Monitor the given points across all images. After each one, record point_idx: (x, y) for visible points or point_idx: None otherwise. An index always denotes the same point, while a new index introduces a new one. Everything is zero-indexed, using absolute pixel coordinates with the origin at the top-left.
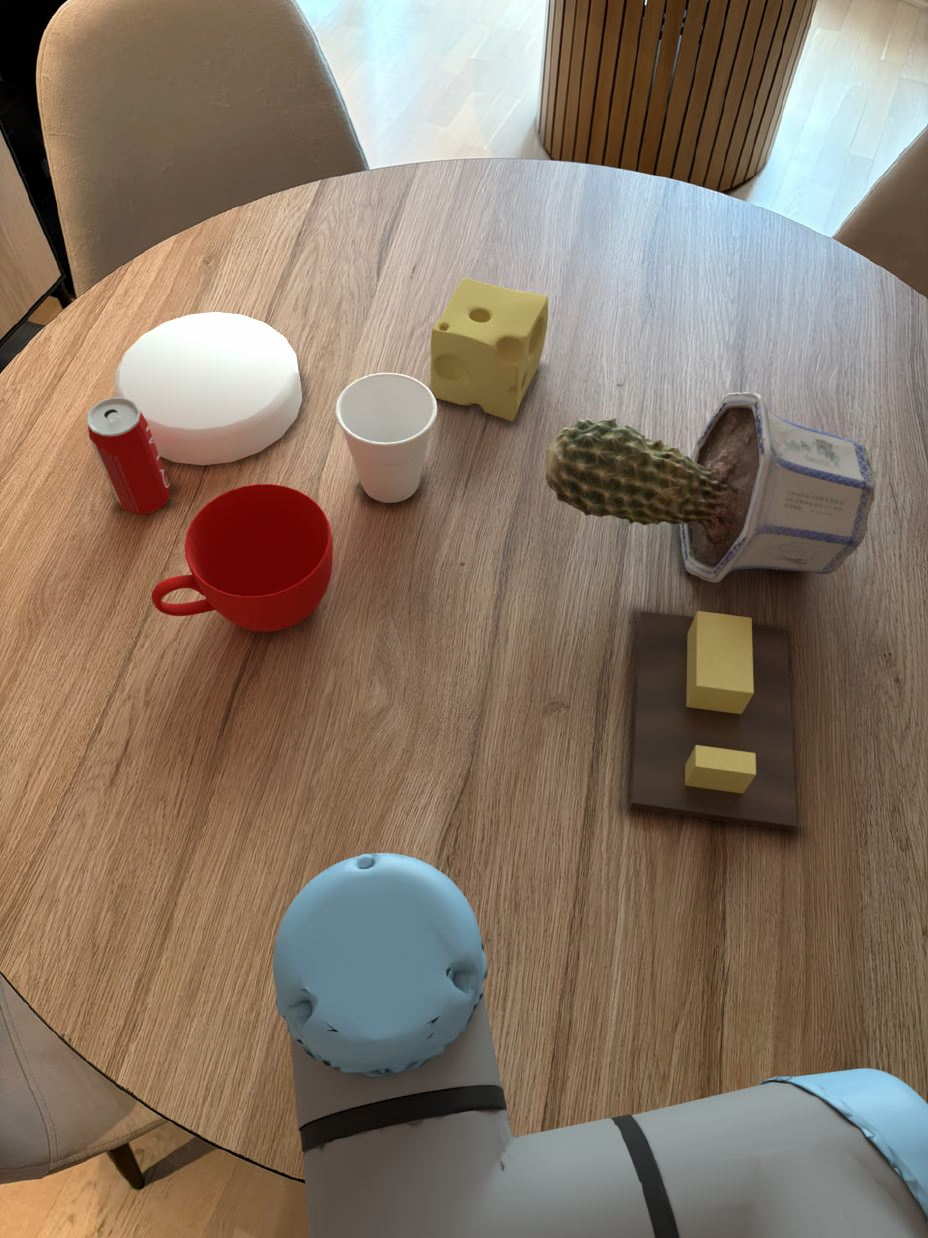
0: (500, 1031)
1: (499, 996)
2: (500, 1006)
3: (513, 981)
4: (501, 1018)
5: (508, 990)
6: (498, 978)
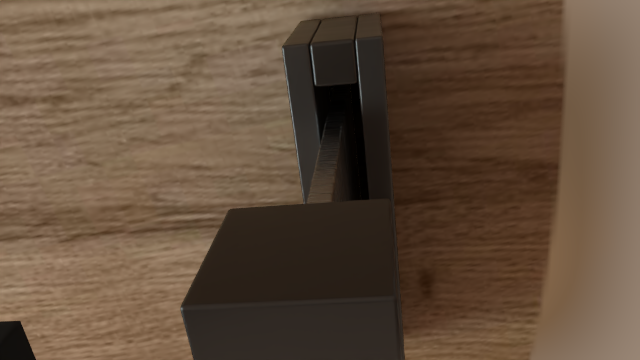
0: (137, 14)
1: (59, 37)
2: (80, 29)
3: (7, 8)
4: (106, 19)
5: (34, 16)
6: (19, 50)
